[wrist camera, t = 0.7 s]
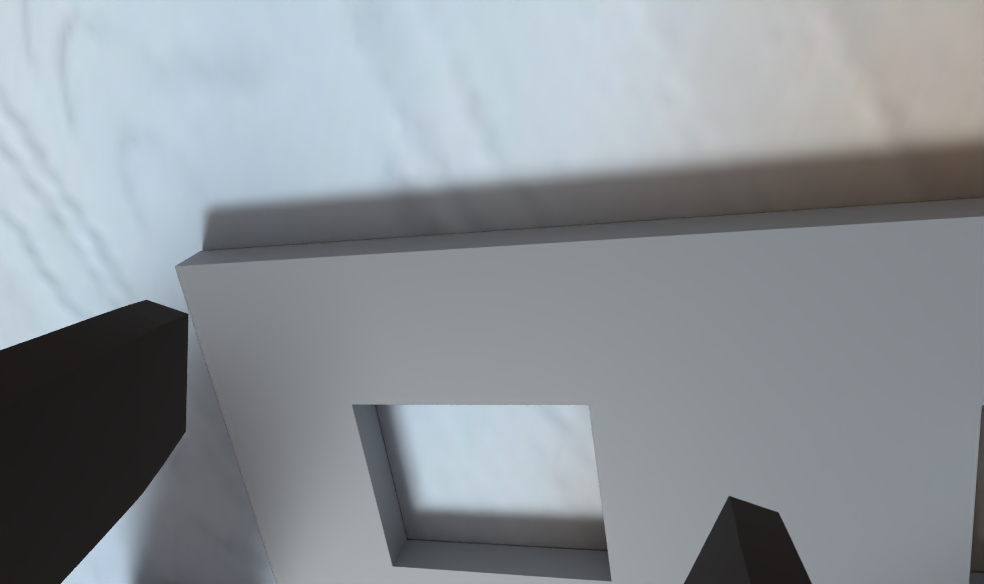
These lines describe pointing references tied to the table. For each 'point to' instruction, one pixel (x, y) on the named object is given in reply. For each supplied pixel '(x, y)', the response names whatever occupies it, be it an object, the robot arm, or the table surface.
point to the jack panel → (620, 385)
